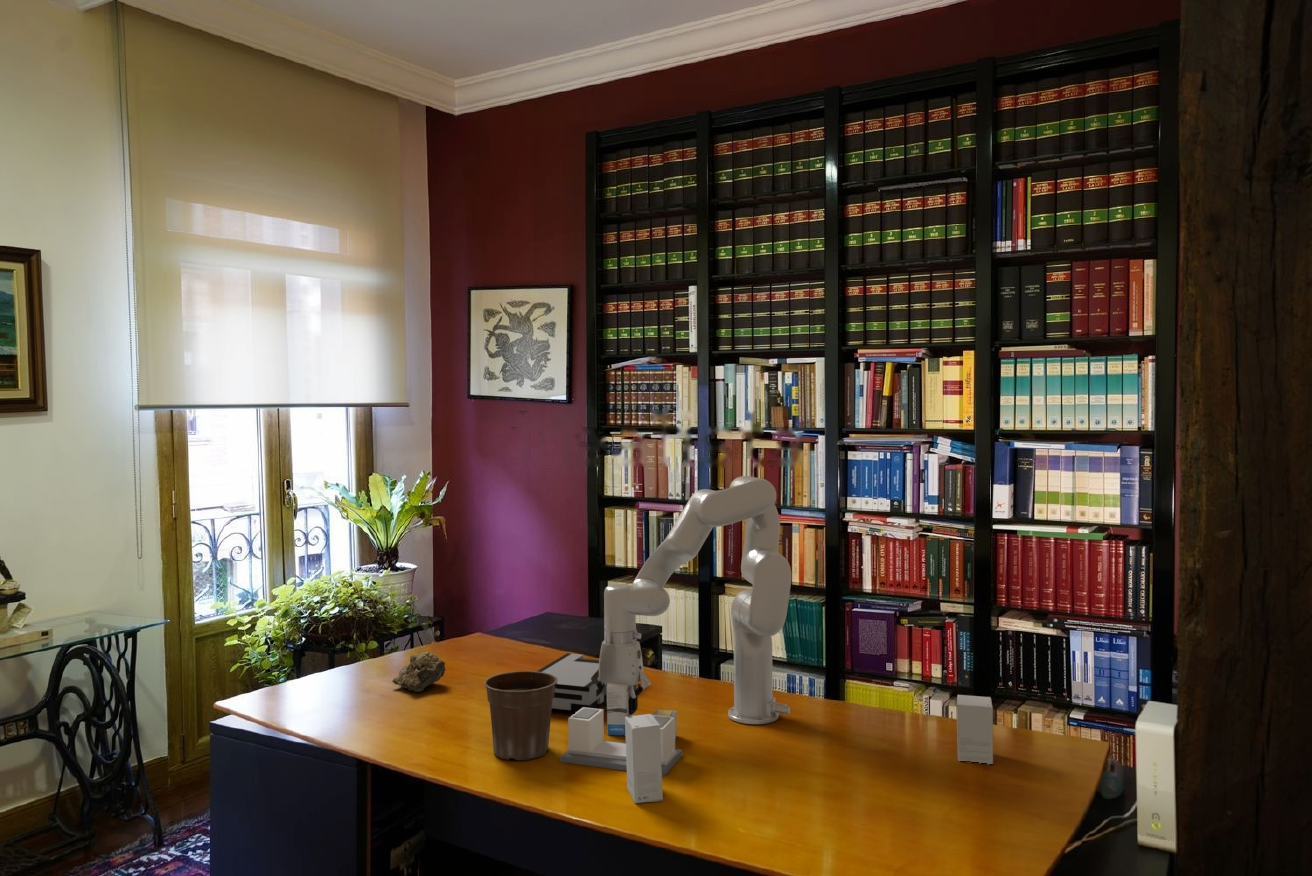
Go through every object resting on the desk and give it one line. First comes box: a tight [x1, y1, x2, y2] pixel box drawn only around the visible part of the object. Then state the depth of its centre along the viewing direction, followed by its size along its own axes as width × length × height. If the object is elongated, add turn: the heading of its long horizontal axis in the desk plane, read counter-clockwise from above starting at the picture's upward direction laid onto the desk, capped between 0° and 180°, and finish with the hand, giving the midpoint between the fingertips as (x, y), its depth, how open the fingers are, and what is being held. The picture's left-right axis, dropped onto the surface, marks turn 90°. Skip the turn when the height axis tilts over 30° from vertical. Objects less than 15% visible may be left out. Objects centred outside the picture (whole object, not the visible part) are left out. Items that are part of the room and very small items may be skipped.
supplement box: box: [956, 694, 994, 765], centre depth 195 cm, size 7×7×13 cm
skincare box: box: [625, 713, 664, 804], centre depth 177 cm, size 8×6×15 cm
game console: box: [537, 653, 604, 714], centre depth 241 cm, size 21×32×8 cm, turn 161°
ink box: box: [606, 683, 635, 737], centre depth 214 cm, size 9×5×12 cm, turn 168°
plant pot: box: [483, 670, 558, 761], centre depth 201 cm, size 16×16×16 cm
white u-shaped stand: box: [559, 707, 683, 777], centre depth 196 cm, size 24×12×9 cm, turn 71°
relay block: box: [652, 709, 678, 739], centre depth 208 cm, size 5×6×6 cm
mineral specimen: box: [391, 651, 446, 693], centre depth 250 cm, size 14×13×10 cm
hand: (620, 711), depth 214 cm, fingers closed on ink box, 5 cm apart
